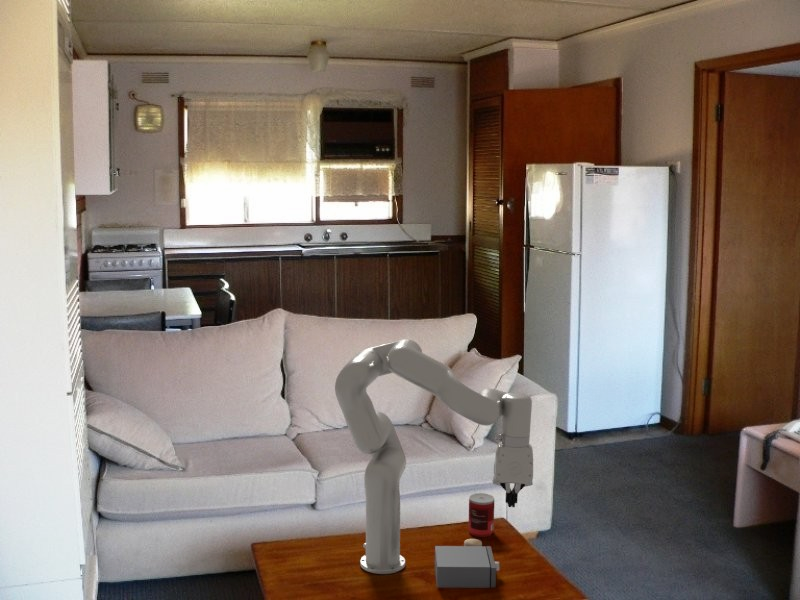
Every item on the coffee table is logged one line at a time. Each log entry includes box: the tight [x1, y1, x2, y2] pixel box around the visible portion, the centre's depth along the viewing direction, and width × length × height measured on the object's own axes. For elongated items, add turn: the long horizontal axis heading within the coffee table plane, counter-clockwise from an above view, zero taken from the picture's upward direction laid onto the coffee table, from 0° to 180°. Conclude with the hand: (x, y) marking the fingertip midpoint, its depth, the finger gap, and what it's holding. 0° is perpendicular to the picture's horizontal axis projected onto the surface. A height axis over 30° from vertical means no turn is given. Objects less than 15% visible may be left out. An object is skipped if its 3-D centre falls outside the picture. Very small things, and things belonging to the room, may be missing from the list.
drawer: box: [485, 545, 500, 588], centre depth 253 cm, size 16×14×5 cm
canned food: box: [468, 492, 495, 538], centre depth 282 cm, size 8×8×11 cm
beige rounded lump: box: [463, 538, 483, 546], centre depth 265 cm, size 5×5×4 cm
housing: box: [434, 545, 491, 589], centre depth 253 cm, size 14×13×6 cm
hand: (511, 505), depth 250 cm, fingers closed
